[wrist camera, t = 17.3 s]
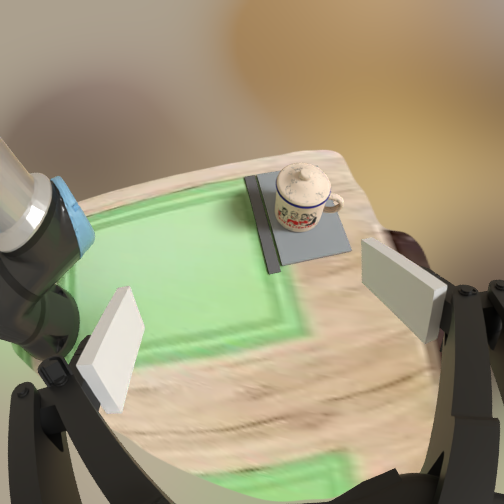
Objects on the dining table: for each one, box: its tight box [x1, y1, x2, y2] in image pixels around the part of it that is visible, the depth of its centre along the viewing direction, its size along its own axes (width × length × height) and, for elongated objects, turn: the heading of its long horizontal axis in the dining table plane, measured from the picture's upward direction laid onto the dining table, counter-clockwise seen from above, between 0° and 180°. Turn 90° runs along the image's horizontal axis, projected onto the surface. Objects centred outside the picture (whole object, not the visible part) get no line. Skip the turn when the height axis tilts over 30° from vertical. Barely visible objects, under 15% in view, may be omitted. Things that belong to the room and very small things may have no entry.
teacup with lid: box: [275, 163, 344, 232], centre depth 49 cm, size 12×9×12 cm
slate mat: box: [257, 166, 352, 266], centre depth 55 cm, size 13×20×1 cm, turn 12°
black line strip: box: [245, 175, 281, 274], centre depth 54 cm, size 2×21×1 cm, turn 12°
